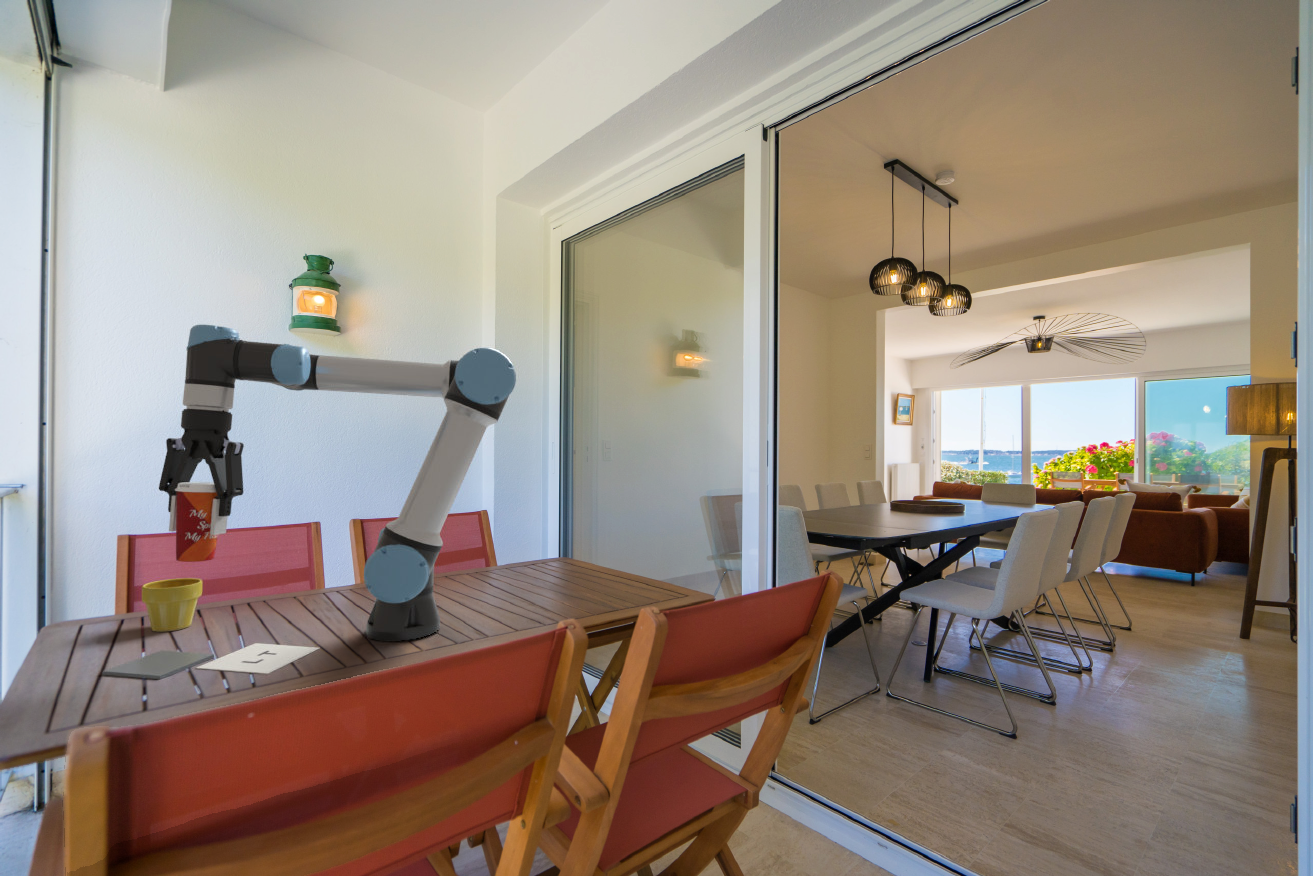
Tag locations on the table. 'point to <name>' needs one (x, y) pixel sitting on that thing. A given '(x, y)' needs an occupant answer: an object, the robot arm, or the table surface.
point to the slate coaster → (158, 664)
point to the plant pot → (171, 602)
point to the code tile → (259, 658)
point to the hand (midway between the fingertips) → (197, 532)
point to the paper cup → (195, 522)
